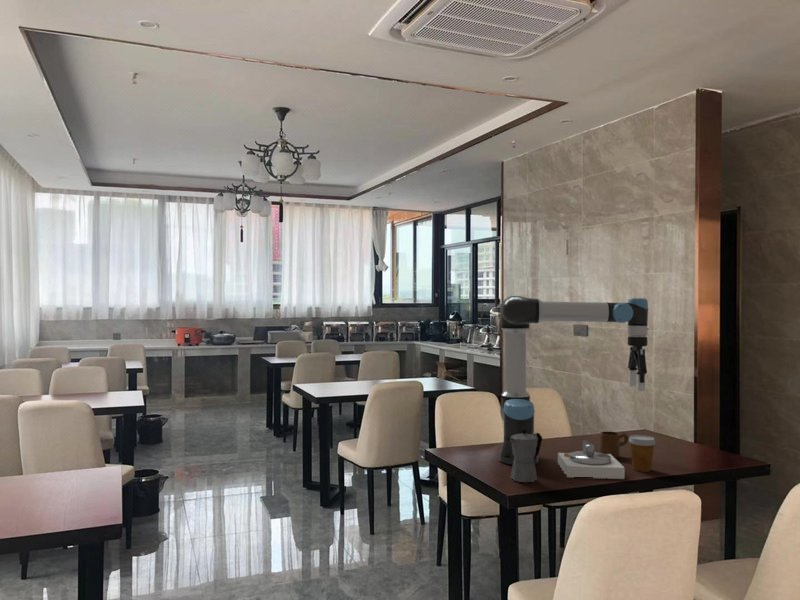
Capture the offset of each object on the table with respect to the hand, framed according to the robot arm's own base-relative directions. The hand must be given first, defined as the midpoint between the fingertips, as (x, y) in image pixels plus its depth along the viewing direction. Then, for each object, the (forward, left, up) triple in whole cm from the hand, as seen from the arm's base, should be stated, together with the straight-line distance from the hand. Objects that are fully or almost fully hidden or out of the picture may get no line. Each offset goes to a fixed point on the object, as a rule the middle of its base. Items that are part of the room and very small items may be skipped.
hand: (636, 388), depth 260 cm
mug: (-8, 0, -28) cm, 29 cm away
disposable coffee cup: (-3, -20, -28) cm, 34 cm away
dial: (-23, -23, -24) cm, 41 cm away
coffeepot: (-48, -38, -28) cm, 68 cm away
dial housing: (-23, -24, -28) cm, 43 cm away
